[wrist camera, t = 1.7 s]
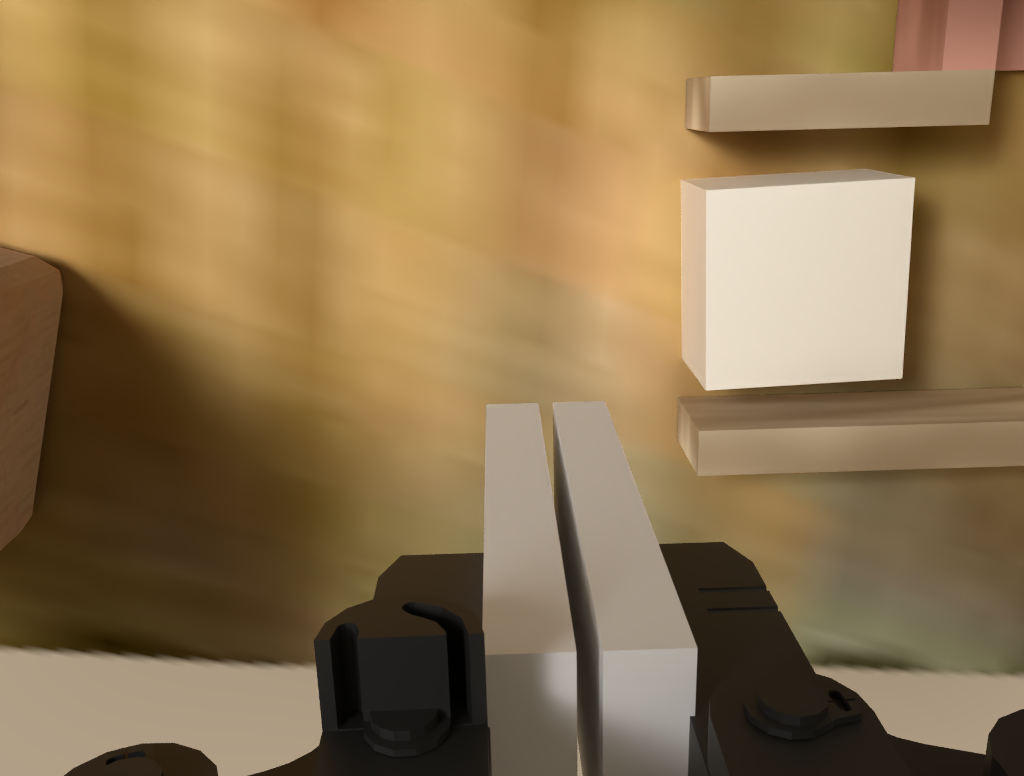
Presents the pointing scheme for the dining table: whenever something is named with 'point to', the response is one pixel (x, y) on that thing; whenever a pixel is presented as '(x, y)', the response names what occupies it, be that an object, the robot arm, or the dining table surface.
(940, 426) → the trap lane box
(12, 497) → the wooden block
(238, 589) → the dining table surface
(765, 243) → the cream block
